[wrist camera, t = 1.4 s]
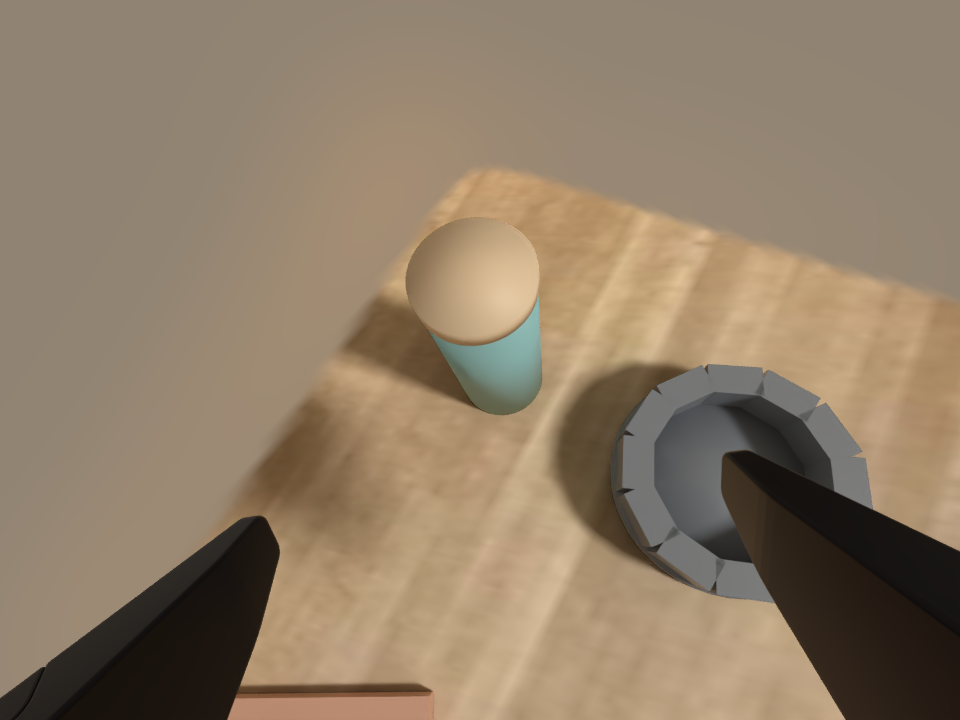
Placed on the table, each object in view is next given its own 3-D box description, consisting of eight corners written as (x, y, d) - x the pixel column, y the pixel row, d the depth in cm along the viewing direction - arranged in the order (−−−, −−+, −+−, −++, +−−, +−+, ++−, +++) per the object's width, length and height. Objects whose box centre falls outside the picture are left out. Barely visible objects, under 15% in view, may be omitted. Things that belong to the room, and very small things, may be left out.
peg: (539, 419, 22) (532, 339, 13) (456, 412, 23) (394, 331, 14) (546, 341, 24) (544, 218, 14) (467, 336, 24) (417, 216, 15)
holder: (850, 614, 18) (897, 627, 16) (606, 578, 20) (614, 585, 17) (822, 388, 21) (857, 369, 19) (613, 372, 23) (620, 353, 20)
